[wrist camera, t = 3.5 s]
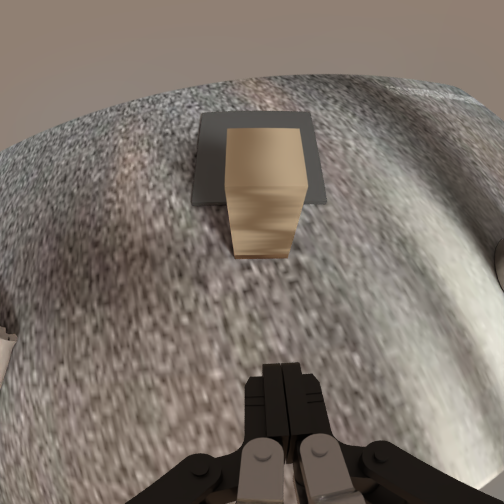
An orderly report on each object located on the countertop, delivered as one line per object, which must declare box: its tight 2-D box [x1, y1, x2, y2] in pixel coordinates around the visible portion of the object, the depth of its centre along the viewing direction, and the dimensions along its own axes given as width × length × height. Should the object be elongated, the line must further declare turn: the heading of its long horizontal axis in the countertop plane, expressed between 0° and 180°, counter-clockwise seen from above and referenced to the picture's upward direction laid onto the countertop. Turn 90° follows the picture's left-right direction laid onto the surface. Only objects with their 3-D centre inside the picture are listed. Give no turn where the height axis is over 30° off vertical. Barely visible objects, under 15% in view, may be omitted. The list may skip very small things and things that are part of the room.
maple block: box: [225, 128, 308, 259], centre depth 24 cm, size 5×5×12 cm
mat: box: [192, 111, 327, 206], centre depth 33 cm, size 14×14×1 cm
